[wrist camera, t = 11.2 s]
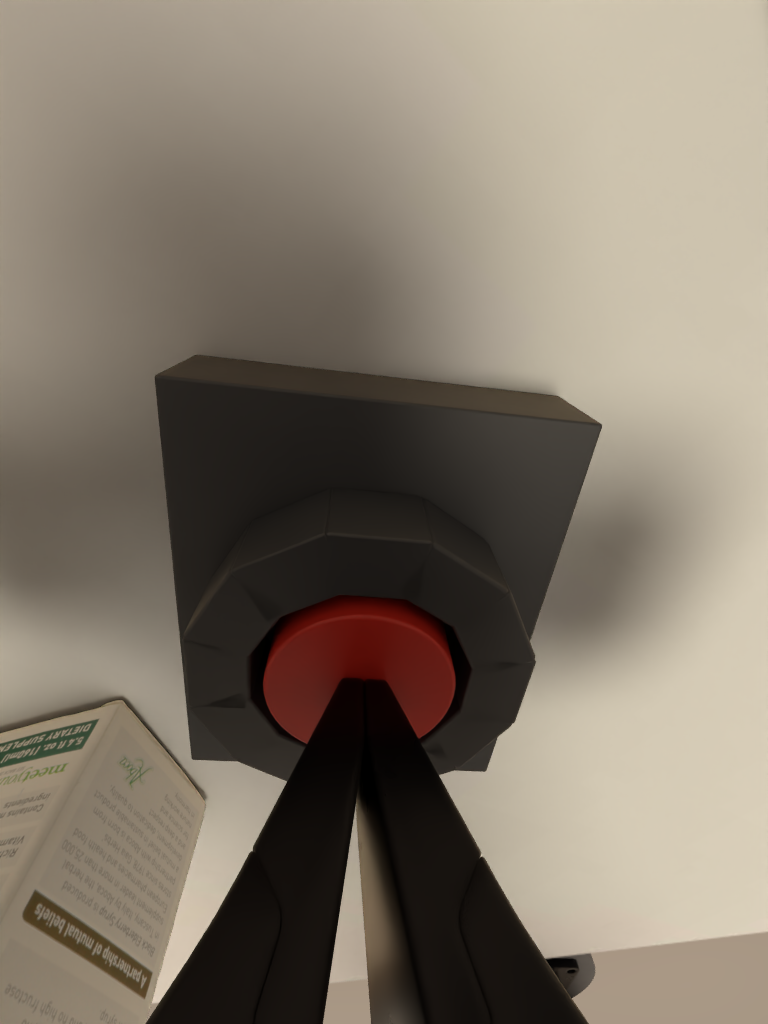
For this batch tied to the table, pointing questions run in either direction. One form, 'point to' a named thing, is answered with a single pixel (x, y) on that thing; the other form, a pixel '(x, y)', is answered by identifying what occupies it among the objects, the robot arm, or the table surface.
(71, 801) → the syrup box
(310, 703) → the button
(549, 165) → the table surface
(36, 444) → the table surface
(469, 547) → the block
